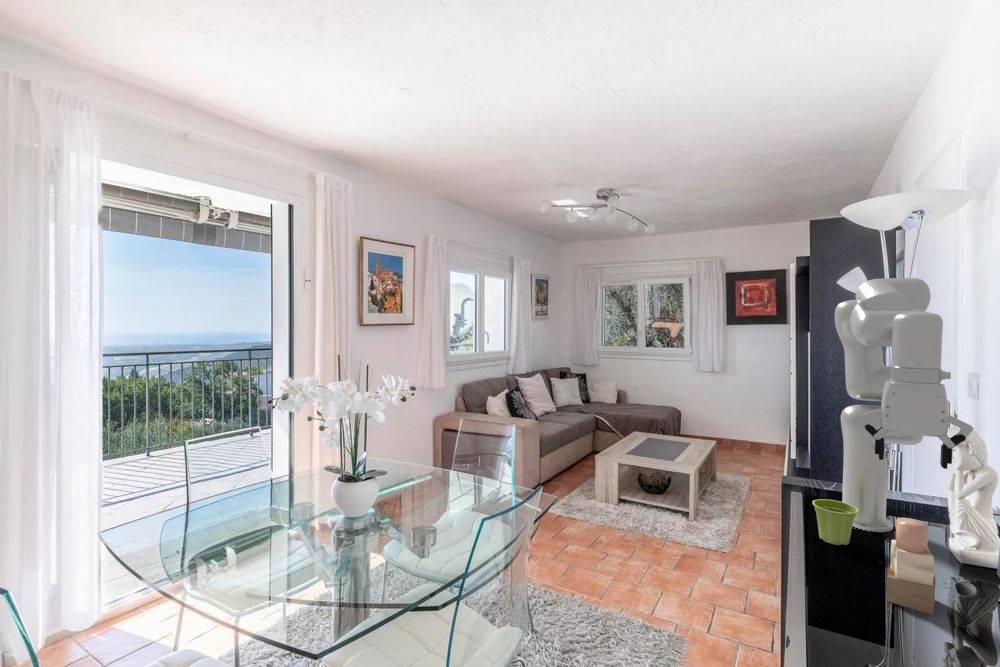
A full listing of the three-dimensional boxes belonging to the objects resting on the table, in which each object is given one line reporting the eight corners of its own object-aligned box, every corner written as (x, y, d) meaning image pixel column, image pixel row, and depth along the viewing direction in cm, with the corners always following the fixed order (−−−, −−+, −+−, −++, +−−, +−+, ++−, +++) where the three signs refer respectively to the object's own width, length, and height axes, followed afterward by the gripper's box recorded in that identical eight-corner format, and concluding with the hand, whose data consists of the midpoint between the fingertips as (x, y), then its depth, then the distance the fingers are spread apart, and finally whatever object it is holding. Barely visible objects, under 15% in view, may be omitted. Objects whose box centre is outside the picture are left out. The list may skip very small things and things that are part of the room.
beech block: (890, 566, 103) (891, 539, 103) (925, 572, 100) (926, 545, 100) (896, 578, 98) (897, 550, 98) (932, 585, 95) (933, 557, 95)
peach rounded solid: (896, 540, 102) (896, 515, 102) (927, 547, 99) (928, 521, 99) (895, 548, 98) (895, 523, 98) (927, 556, 95) (928, 530, 95)
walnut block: (889, 587, 104) (890, 563, 104) (934, 600, 99) (935, 575, 99) (886, 601, 99) (887, 576, 99) (933, 616, 94) (934, 589, 94)
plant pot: (814, 529, 132) (815, 496, 132) (858, 539, 126) (859, 504, 126) (808, 541, 125) (809, 506, 124) (855, 553, 119) (856, 516, 118)
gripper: (971, 377, 97) (967, 465, 98) (860, 370, 107) (857, 450, 108) (979, 382, 91) (974, 476, 92) (860, 375, 101) (857, 459, 102)
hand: (911, 462), depth 100 cm, fingers open, 9 cm apart
